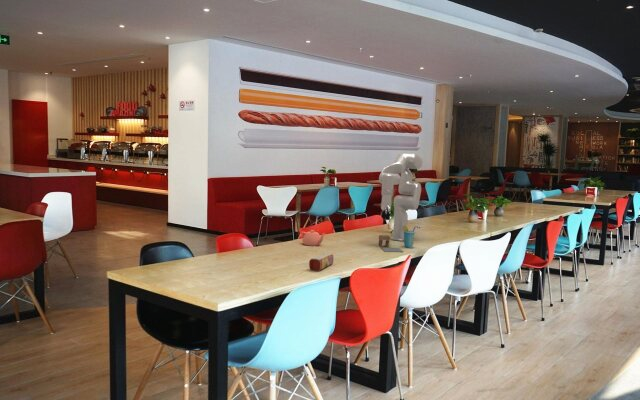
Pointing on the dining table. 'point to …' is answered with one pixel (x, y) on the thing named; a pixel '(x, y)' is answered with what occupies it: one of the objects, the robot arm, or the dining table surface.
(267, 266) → the dining table surface
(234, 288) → the dining table surface
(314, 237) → the teapot
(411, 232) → the cup
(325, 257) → the snack package
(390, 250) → the mat
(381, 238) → the brown box with pegs
